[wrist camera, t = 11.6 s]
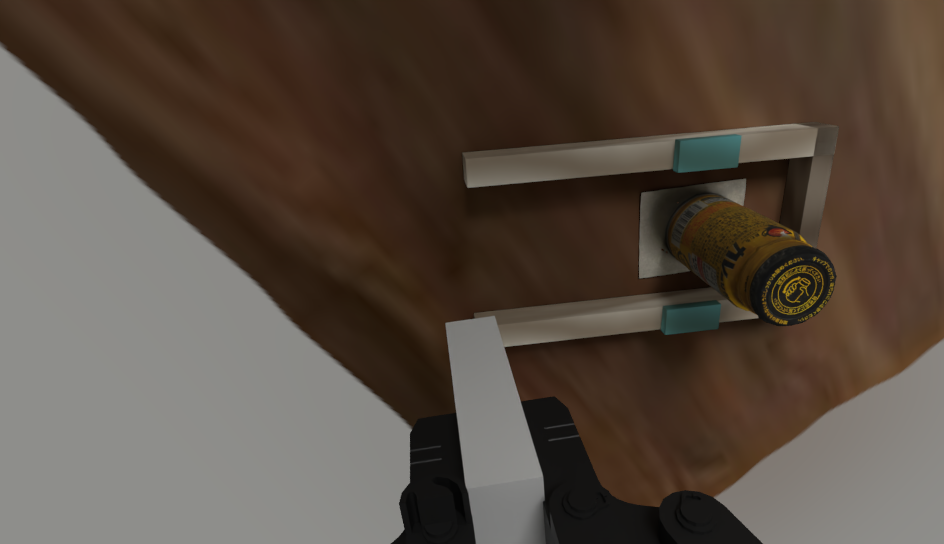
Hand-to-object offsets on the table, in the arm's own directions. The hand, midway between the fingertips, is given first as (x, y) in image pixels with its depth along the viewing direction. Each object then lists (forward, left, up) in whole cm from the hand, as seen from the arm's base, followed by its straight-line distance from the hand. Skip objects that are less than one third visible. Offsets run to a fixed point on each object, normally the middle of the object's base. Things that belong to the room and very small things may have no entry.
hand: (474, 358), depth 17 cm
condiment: (+6, +20, -26) cm, 33 cm away
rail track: (+6, +16, -25) cm, 30 cm away
